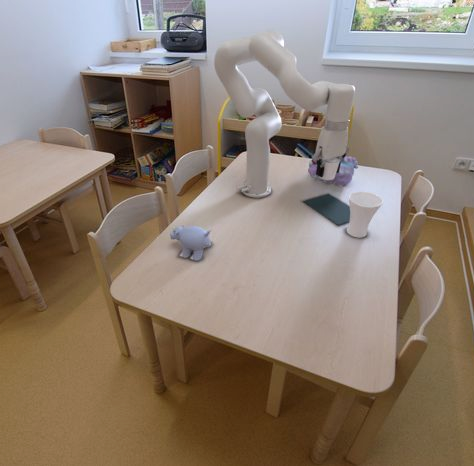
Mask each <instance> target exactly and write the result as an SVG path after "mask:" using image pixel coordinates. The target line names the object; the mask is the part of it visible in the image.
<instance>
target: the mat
mask: <svg viewBox="0 0 474 466" xmlns="http://www.w3.org/2000/svg"><path fill="white" fill-rule="evenodd" d="M303 203H304V204H306V205H307V206H309V207H310V208H312V209H313V210H314V211H316V212H317V213H319V214H321V216H323V217H325V218H326V219H327V220H329V221H331V222H332V223H334V224H335V225H336V226H341V225H344V224H347V223H349V222H350V205H348V204H346V203H345V202H343V201H341V199H338V198H337V197H335V196H333V195H332V194H330V193H326V194H321V195H319V196H316V197H315V196H314V197H312V198H308V199H305V200H303Z"/></svg>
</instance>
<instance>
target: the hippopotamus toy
mask: <svg viewBox="0 0 474 466" xmlns="http://www.w3.org/2000/svg"><path fill="white" fill-rule="evenodd" d="M212 230H213V229H212V228H210V229H209V230H208V231H207V230H206V229H205V228H202V227H200V226H197V225H196V226H195V225H192V226H191V225H190V226H189V225H188V226H185V227H184V225H183V224H181V226H178V227H176V228H173V230H172V231H171V232H169V237H170V240H173V241H175V240H176V241H179V243H180V244H181V246H182V250H181V252H180V254H179V257H180V258H184V259H187V258H189V259H190V260H193V261H195V262H197V261H201V260H202V258H203V252H204V249H206V248H210V247H211V245H212V243H211V238H210V233H211V232H212ZM192 251H193V253H192Z"/></svg>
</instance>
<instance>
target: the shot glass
mask: <svg viewBox="0 0 474 466" xmlns="http://www.w3.org/2000/svg"><path fill="white" fill-rule="evenodd" d="M322 160H323V159H322ZM322 160H321V161H320V162H322ZM339 162H340V159H339V158H338V157H335V158H331V159H327V160H326V162H325V164H324V166H323V167H324V174H323V177H320V178H321V179H324V180H332V179H334V178H335V175H336V172H337V169H338V165H339Z"/></svg>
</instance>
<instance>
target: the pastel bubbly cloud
mask: <svg viewBox="0 0 474 466" xmlns="http://www.w3.org/2000/svg"><path fill="white" fill-rule="evenodd" d="M318 158H319V157H318ZM358 164H359V162H358V161H357V159H356V157H353V156H347V155H346V156H345V157H344V159H343V161H342V162H341V165H340V170H339V173H336V175H335V178H334V179H332V180H324V179H321V178H320V177H319V176H318V175H316V170H317V165H316V163H315V162H314V161H313V159H312V158H311V159H310V161H309V163H308V169H307V173H308V174H309V176H310V177H311V178H312V179H318V180H319V181H320V182H324V183H326V184H333V183H334V182H335V183H336V185H338V186H342V187H343V186H346V185H348V184H350V183H351V181H352V180H353V176H354V174H355V170H356V169H359V166H358Z"/></svg>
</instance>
